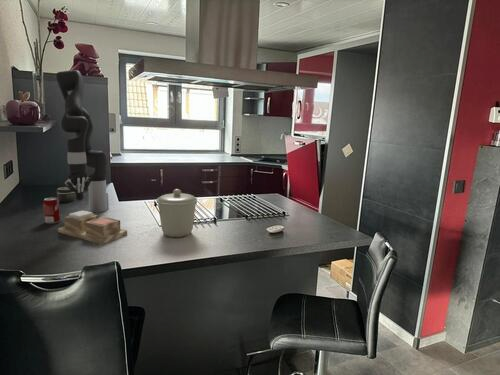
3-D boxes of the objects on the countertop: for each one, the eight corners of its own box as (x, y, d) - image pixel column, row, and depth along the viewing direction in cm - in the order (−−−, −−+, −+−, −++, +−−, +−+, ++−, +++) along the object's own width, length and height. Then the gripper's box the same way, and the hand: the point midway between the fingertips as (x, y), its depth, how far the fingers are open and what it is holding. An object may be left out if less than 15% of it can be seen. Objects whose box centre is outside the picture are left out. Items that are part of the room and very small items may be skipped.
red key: (104, 224, 159) (103, 218, 159) (115, 227, 156) (114, 220, 155) (91, 228, 153) (90, 221, 152) (102, 231, 150) (101, 224, 149)
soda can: (53, 224, 169) (51, 200, 166) (41, 223, 170) (39, 199, 168) (63, 221, 175) (61, 197, 173) (51, 219, 177) (49, 196, 174)
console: (85, 224, 171) (84, 210, 169) (127, 234, 158) (126, 219, 157) (58, 232, 159) (57, 217, 157) (101, 244, 146) (100, 228, 145)
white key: (83, 216, 165) (82, 210, 164) (93, 218, 162) (93, 212, 161) (69, 220, 159) (69, 213, 158) (80, 222, 156) (79, 216, 155)
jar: (54, 200, 214) (53, 188, 213) (70, 197, 223) (69, 186, 221) (62, 203, 209) (62, 190, 207) (79, 200, 217) (78, 188, 215)
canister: (178, 243, 150) (177, 195, 145) (148, 235, 159) (147, 189, 155) (205, 232, 165) (205, 188, 160) (176, 225, 174) (176, 183, 170)
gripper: (84, 160, 163) (86, 196, 166) (57, 162, 151) (60, 201, 154) (95, 161, 159) (97, 198, 163) (69, 164, 148) (71, 204, 151)
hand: (79, 200), depth 159 cm, fingers closed
